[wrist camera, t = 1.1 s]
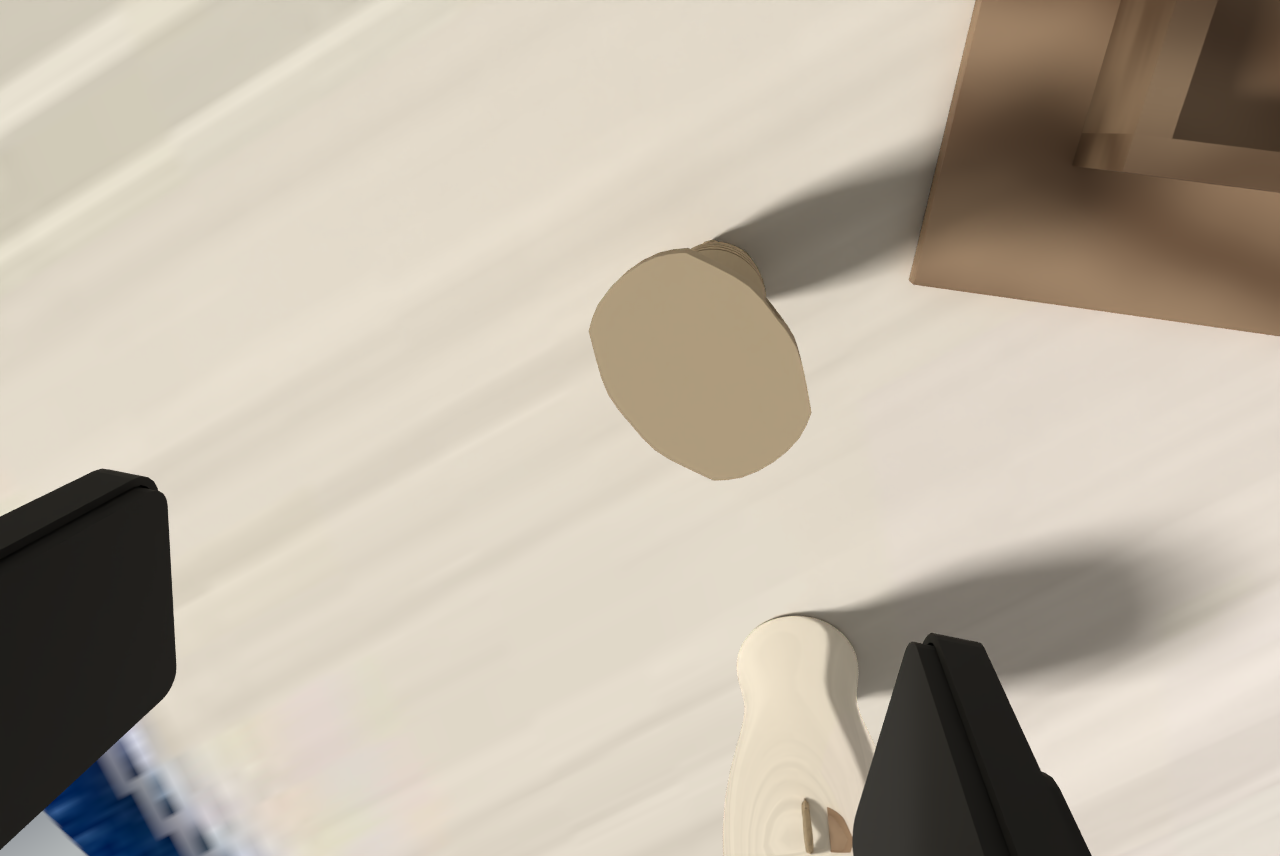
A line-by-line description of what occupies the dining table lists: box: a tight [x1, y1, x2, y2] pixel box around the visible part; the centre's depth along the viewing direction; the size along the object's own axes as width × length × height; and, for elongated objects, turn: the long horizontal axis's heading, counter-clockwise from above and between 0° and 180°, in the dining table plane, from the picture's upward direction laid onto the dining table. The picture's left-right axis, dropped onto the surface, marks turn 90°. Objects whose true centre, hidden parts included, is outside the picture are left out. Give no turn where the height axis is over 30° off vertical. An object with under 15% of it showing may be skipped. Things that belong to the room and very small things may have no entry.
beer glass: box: [723, 616, 876, 856], centre depth 35 cm, size 7×7×15 cm
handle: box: [589, 240, 811, 480], centre depth 29 cm, size 5×6×15 cm
